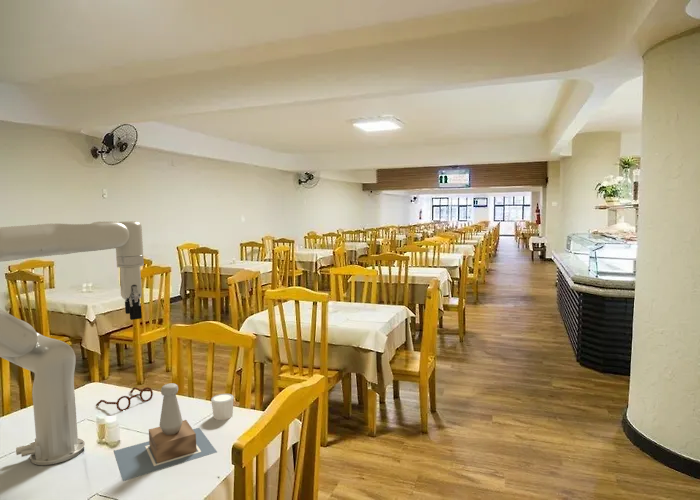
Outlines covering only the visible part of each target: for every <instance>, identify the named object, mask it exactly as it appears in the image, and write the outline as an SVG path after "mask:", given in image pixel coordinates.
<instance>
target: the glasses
mask: <svg viewBox="0 0 700 500" xmlns="http://www.w3.org/2000/svg"><path fill="white" fill-rule="evenodd" d="M134 391H139V393H137V394H134V395H131V396H129V395H122V396H120V397H119V398H117V401H106V400H104V399H100V400H99V401H98V402H97V403H96V405H97V406H99V405H101V403H104V404H105V405H116V408H117V410H118V411H120V412H124V411H123V410H125V411H127V410H129V408H130V407H131V399H133V398H136V397H139V398H140V401H142V402H144V403H146V402H149V401H151V400H152V398H153V395H154V393H153V389H152V388H151V387H148V386H147V387H144V388H139V387H135V386H134V387H133V388H132V389H131V390H130V391H129V393H133V392H134ZM143 392H150V397H149V398H148V399H147V398H146V399H144V398H143ZM122 399H127V402H128V405H127V406H126V407H125V408H123V409H122V408H120V404H119V403H120V401H121V400H122ZM126 409H127V410H126Z"/></svg>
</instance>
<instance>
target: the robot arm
mask: <svg viewBox="0 0 700 500" xmlns="http://www.w3.org/2000/svg"><path fill="white" fill-rule="evenodd" d="M142 231H143V228H142V224H141V223H140V222H139V221H133V220H132V221H129V220H128V221H104V220H103V221H94V222H92V223H78V224H76V223H75V224H74V223H72V224H71V223H42V224H40V223H39V224H28V225H27V224H26V225H14V226H0V262H10V261H11V262H12V261H17V260H18V261H19V260H26V259H35V258H40V257H41V258H43V257H44V258H45V257H52V256H63V255H64V256H65V255H70V254H76V253H77V254H78V253H86V252H87V253H88V252H96V251H104V250H106V251H107V250H111V249H113V250H114V249H115V256H116V267H117V268H119V269H120V272H119V273H120V274H119V276H120V281H119V282H120V283H119V284H120V297H122V299H123V300H125V301H124V307H125V308H124V309H125V314H126V315H128V314H129V319H130V321H133V320H142V318H143V316H142V315H143V312H142V305H141V298H142V296H143V293H142V288H143V287H142V277H141V275H142V274H141V267H143V266H144V265H145V263H144V248H143V247H144V246H143V232H142ZM76 357H77V356H76V353H75V350H74V349H73V348H72V346H71V345H70V344H68V343H66V342H65V341H63V340H60V339H56V338H51V337H48V336H45V335H43V334H41V333H40V332H37V331H36V329H35V328H34V327H33V325H31V324H30V323H28V322H27V321H25V320H22V319H20V318H18V317H16V316H14V315H12V314H11V313H8V312H7V311H5V310H3V309H1V308H0V358H1V359H3V360H6V361H8V362H10V363H12V364H13V365H16V366H18V367H20V368H23V369H24V370H27V371H29V372H32V373H34V378H33V379H34V380H33V385H32V395H31V396H32V403H33V416H34V430H35V438H34V442H30V444H28V445H22V446H18V447H17V446H16V448H15V453H16V456H19V455H21V458H23V457H27V456H29V457H30V459H29V460H30V462H31V463H32V464H34V465H38V466H48V465H49V466H51V465H55V464H60V463H63V462H66V461H68V460H70V459H73V458H75V457H77V456H78V455H80V454H81V453H82V452H83V451H84V450H85V446H86V445H85V440H83V439H81V438H79V436H78V423H77V408H76V407H77V406H76V394H75V393H76V392H75V370H76V369H75V368H76Z"/></svg>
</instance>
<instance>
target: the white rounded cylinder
mask: <svg viewBox="0 0 700 500" xmlns="http://www.w3.org/2000/svg"><path fill="white" fill-rule="evenodd" d="M210 401H211V407H212V416H213V419H214V420H216V421H225V420H230V418H233V413H234V412H233V411H234V395H233V394H231V393H220V394H216V395H214V396H213V397H211V400H210Z"/></svg>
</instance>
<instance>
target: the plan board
mask: <svg viewBox="0 0 700 500" xmlns="http://www.w3.org/2000/svg"><path fill="white" fill-rule="evenodd" d="M192 429H193V430H194V432H195V433H196V449H197V451H196V452H193V453H190V454H186V455H183V456H180V457H176V458H173V459H170V460H166V461H163V462H160V463H157V462H156V459H155V457H154V455H153V453H152V451H151V449H150V444H149V440H148V441H145V442H142V443H137V444H134V445H130V446H126V447H123V448H119V449H116V450H113V454H114V456H115V460H116V463H117V467H118V469H119V473H120V476H121V480H122V482H125V481H128V480H131V479H135V478H137V477H140V476H144V475H147V474H150V473H151V474H152V473H154V472H157V471H158V472H159V471H161V470H163V469H167V468H170V467H173V466H177V465H179V464H184V463H186V462H189V461H190V462H191V461H192V460H196V459H199V458H202V457H203V458H204V457H205V456H206V457H207V456H209V455H212V454H216V453H218V451H217V450H216V448H215V447H214V446H213V444H212V443H211V442H210V440H209V439H208V437H207V436H206V435H205V433H204V432H203V430H201V428H200V427H196V428H192Z"/></svg>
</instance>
